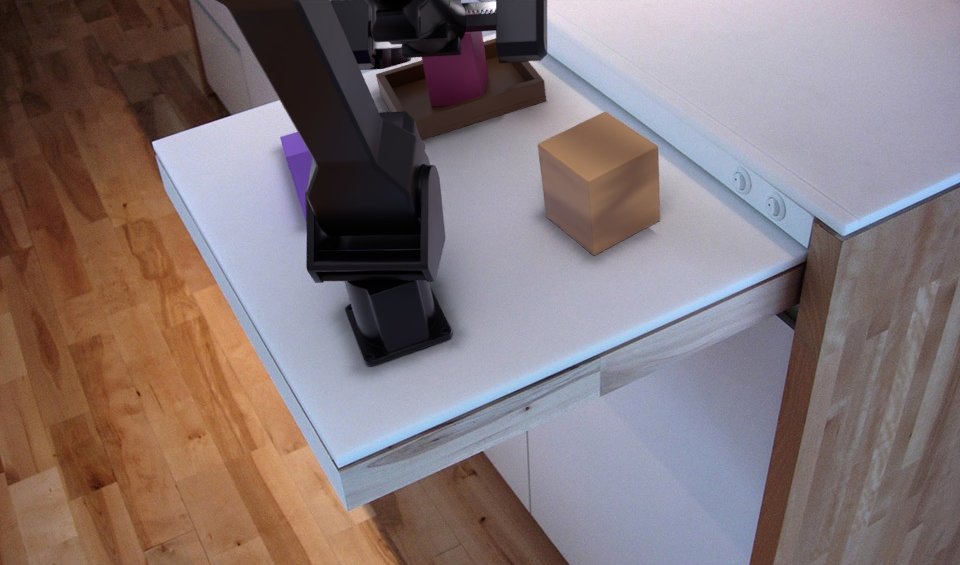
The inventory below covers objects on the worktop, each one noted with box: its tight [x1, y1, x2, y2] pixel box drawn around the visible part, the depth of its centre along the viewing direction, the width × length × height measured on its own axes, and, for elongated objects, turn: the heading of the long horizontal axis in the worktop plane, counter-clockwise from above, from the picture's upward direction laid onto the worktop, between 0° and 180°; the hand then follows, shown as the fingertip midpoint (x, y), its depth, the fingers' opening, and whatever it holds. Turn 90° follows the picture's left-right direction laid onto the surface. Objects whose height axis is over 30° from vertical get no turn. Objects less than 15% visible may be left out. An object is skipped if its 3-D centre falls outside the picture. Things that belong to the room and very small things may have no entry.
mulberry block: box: [421, 12, 489, 106], centre depth 94 cm, size 5×5×7 cm
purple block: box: [279, 131, 313, 220], centre depth 87 cm, size 12×7×7 cm, turn 18°
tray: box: [375, 37, 547, 141], centre depth 96 cm, size 10×13×2 cm
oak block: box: [537, 111, 661, 256], centre depth 78 cm, size 6×6×7 cm
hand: (457, 52), depth 95 cm, fingers open, 9 cm apart
